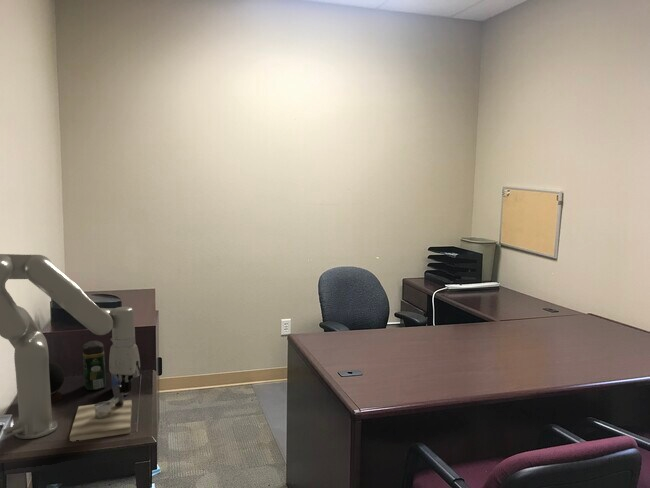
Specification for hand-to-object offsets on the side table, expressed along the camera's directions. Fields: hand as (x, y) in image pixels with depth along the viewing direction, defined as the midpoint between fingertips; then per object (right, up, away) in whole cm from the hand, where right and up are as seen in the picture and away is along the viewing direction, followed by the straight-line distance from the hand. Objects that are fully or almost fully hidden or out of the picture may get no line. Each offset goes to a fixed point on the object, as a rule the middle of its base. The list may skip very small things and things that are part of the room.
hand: (126, 391), depth 186 cm
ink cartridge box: (-10, -6, +20) cm, 23 cm away
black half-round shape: (-36, -7, +12) cm, 38 cm away
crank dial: (-4, -6, -3) cm, 8 cm away
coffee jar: (-22, -6, +25) cm, 34 cm away
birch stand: (-5, -9, -7) cm, 12 cm away
